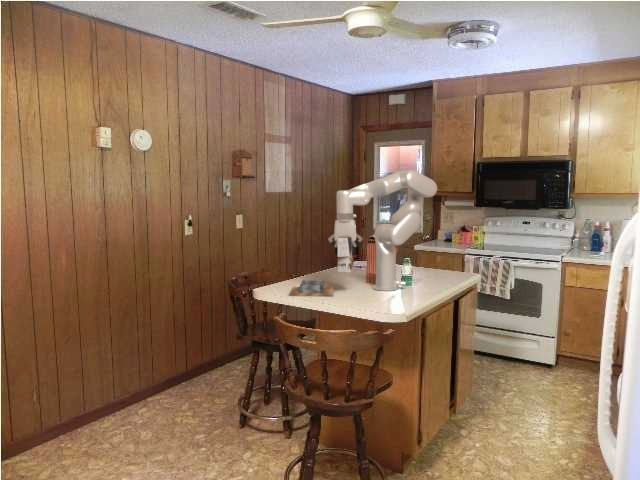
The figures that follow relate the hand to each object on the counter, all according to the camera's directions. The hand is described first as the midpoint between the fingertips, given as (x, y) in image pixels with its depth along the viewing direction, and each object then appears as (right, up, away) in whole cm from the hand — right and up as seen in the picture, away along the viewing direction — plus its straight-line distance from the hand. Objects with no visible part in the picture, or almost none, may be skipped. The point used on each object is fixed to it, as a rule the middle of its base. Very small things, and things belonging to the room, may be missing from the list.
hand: (345, 255), depth 229 cm
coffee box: (0, -7, +1) cm, 8 cm away
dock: (-15, -18, +3) cm, 24 cm away
